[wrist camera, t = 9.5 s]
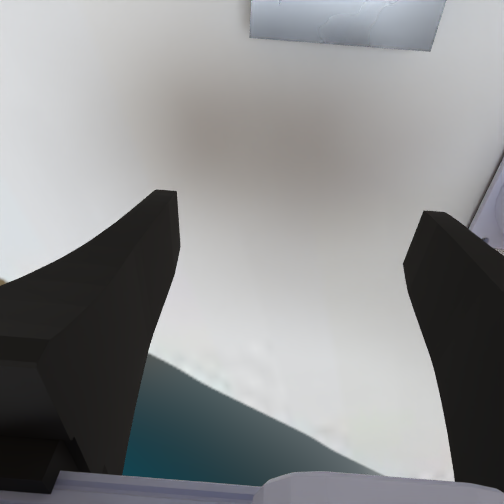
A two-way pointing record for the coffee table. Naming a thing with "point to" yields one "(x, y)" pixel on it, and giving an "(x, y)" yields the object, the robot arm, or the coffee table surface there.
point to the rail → (349, 22)
